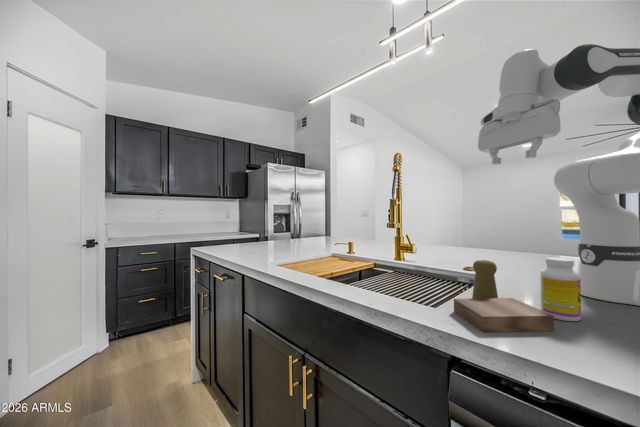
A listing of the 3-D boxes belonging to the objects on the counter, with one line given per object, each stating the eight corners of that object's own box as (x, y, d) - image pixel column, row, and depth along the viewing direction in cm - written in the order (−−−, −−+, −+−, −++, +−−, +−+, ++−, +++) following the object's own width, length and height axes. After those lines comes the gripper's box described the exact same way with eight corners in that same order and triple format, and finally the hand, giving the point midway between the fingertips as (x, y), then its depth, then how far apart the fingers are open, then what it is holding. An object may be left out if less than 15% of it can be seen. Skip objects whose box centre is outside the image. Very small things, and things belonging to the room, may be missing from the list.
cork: (503, 308, 64) (503, 263, 64) (476, 306, 66) (476, 262, 66) (492, 300, 70) (492, 259, 70) (468, 298, 71) (467, 258, 72)
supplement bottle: (585, 325, 54) (584, 262, 54) (544, 318, 58) (543, 260, 58) (576, 314, 60) (575, 258, 60) (538, 309, 63) (537, 255, 63)
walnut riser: (512, 310, 62) (512, 298, 62) (554, 331, 51) (553, 315, 51) (453, 311, 62) (453, 298, 62) (483, 332, 51) (482, 316, 51)
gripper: (569, 98, 63) (565, 155, 63) (491, 125, 83) (488, 168, 83) (551, 92, 62) (546, 150, 61) (476, 121, 81) (472, 165, 81)
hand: (512, 161), depth 72 cm, fingers open, 8 cm apart
